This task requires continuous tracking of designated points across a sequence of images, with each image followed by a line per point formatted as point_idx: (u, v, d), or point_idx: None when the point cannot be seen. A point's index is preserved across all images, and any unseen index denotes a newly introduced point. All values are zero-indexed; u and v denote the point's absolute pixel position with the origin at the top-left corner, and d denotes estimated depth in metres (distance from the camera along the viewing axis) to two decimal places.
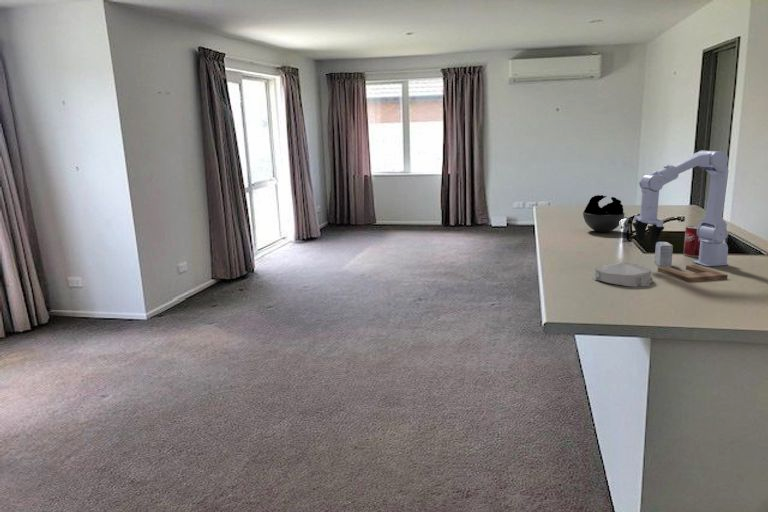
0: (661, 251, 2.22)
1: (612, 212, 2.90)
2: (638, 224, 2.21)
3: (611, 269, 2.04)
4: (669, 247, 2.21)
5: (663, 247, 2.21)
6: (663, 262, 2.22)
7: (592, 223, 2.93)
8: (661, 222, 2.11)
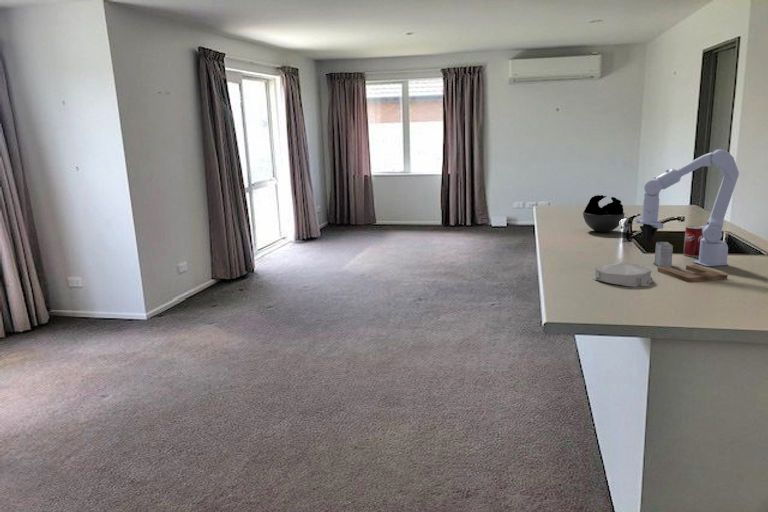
0: (661, 251, 2.22)
1: (612, 212, 2.90)
2: None
3: (611, 269, 2.04)
4: (669, 247, 2.21)
5: (663, 247, 2.21)
6: (663, 262, 2.22)
7: (592, 223, 2.93)
8: (661, 224, 2.26)
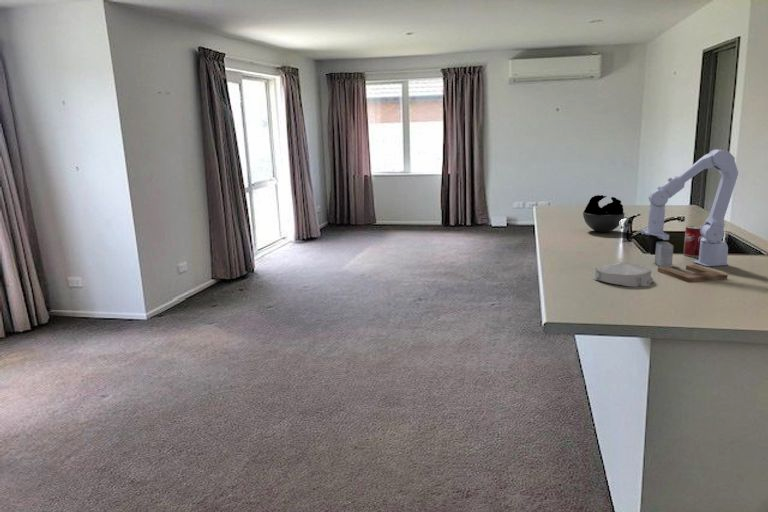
0: (662, 251, 2.21)
1: (612, 212, 2.90)
2: None
3: (611, 269, 2.04)
4: (670, 247, 2.21)
5: (664, 247, 2.21)
6: (663, 262, 2.22)
7: (592, 223, 2.93)
8: (667, 235, 2.23)
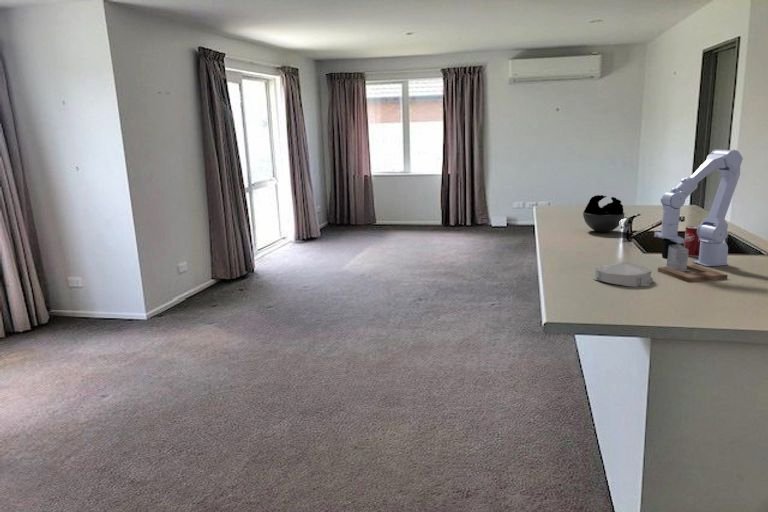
0: (677, 255, 2.14)
1: (612, 212, 2.90)
2: None
3: (611, 269, 2.04)
4: (685, 251, 2.13)
5: (679, 251, 2.14)
6: (678, 266, 2.15)
7: (592, 223, 2.93)
8: (682, 239, 2.15)
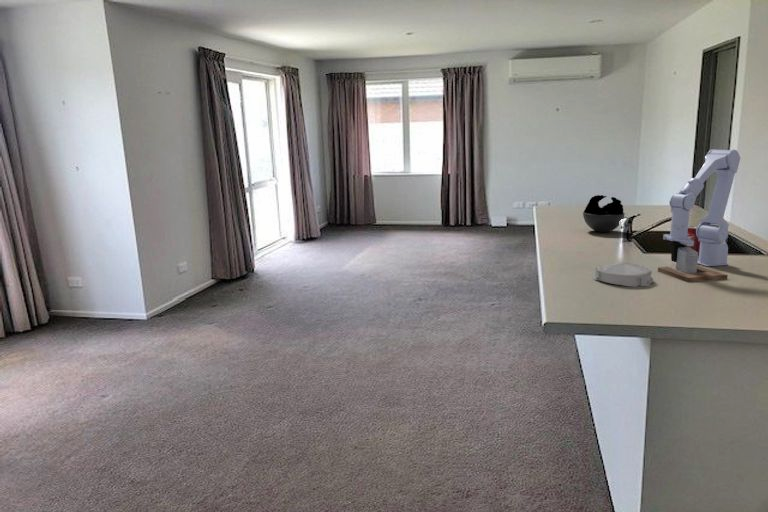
0: (686, 258, 2.09)
1: (612, 212, 2.90)
2: None
3: (611, 269, 2.04)
4: (695, 253, 2.08)
5: (688, 254, 2.09)
6: (687, 269, 2.10)
7: (592, 223, 2.93)
8: (692, 242, 2.10)
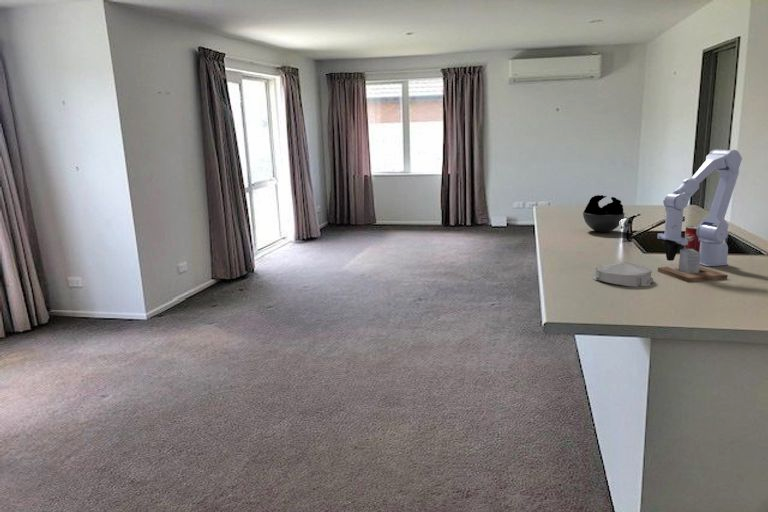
0: (688, 259, 2.08)
1: (612, 212, 2.90)
2: None
3: (612, 269, 2.04)
4: (697, 254, 2.08)
5: (690, 255, 2.08)
6: (690, 270, 2.09)
7: (592, 223, 2.93)
8: (686, 240, 2.13)
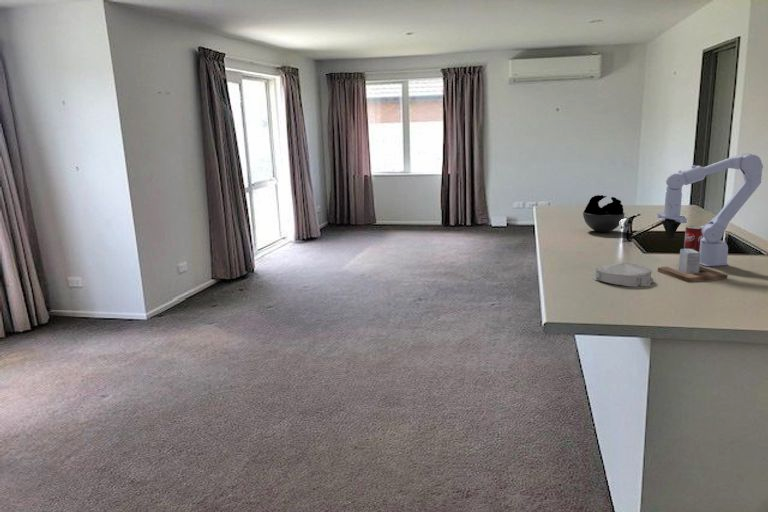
0: (688, 259, 2.08)
1: (612, 212, 2.90)
2: None
3: (612, 269, 2.04)
4: (697, 254, 2.08)
5: (690, 255, 2.08)
6: (690, 270, 2.09)
7: (592, 223, 2.93)
8: (685, 219, 2.22)
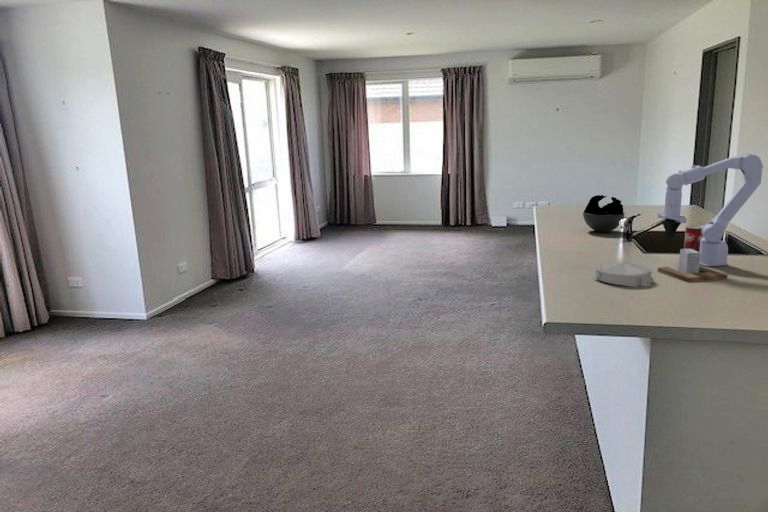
0: (688, 259, 2.08)
1: (612, 212, 2.90)
2: None
3: (612, 269, 2.03)
4: (697, 254, 2.08)
5: (690, 255, 2.08)
6: (690, 270, 2.09)
7: (592, 223, 2.93)
8: (685, 219, 2.22)
